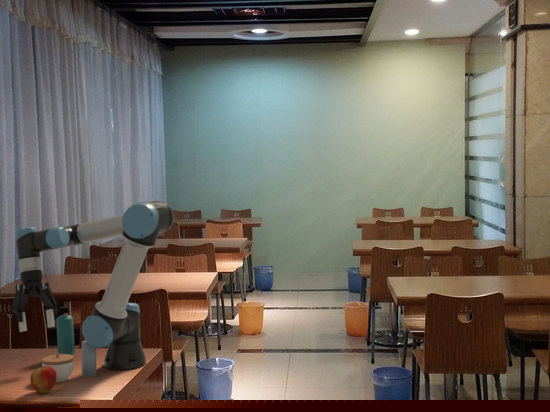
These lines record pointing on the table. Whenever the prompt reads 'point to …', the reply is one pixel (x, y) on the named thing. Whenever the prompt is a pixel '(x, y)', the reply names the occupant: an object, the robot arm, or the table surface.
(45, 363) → the lidded jar
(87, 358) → the post
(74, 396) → the table surface
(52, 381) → the apple
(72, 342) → the beverage bottle
